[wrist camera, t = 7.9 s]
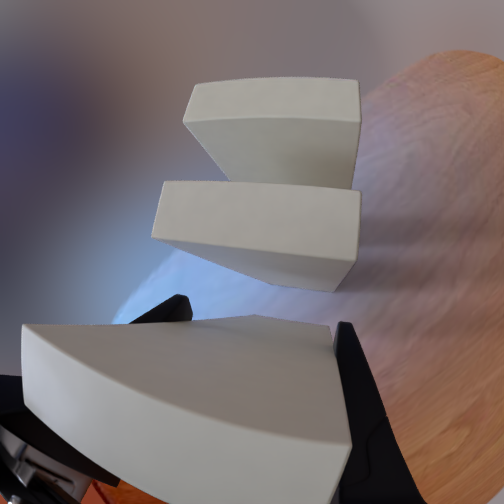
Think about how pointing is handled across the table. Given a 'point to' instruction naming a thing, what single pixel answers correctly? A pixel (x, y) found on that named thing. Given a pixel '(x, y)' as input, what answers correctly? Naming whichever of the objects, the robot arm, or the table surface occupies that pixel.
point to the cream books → (272, 181)
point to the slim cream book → (197, 405)
